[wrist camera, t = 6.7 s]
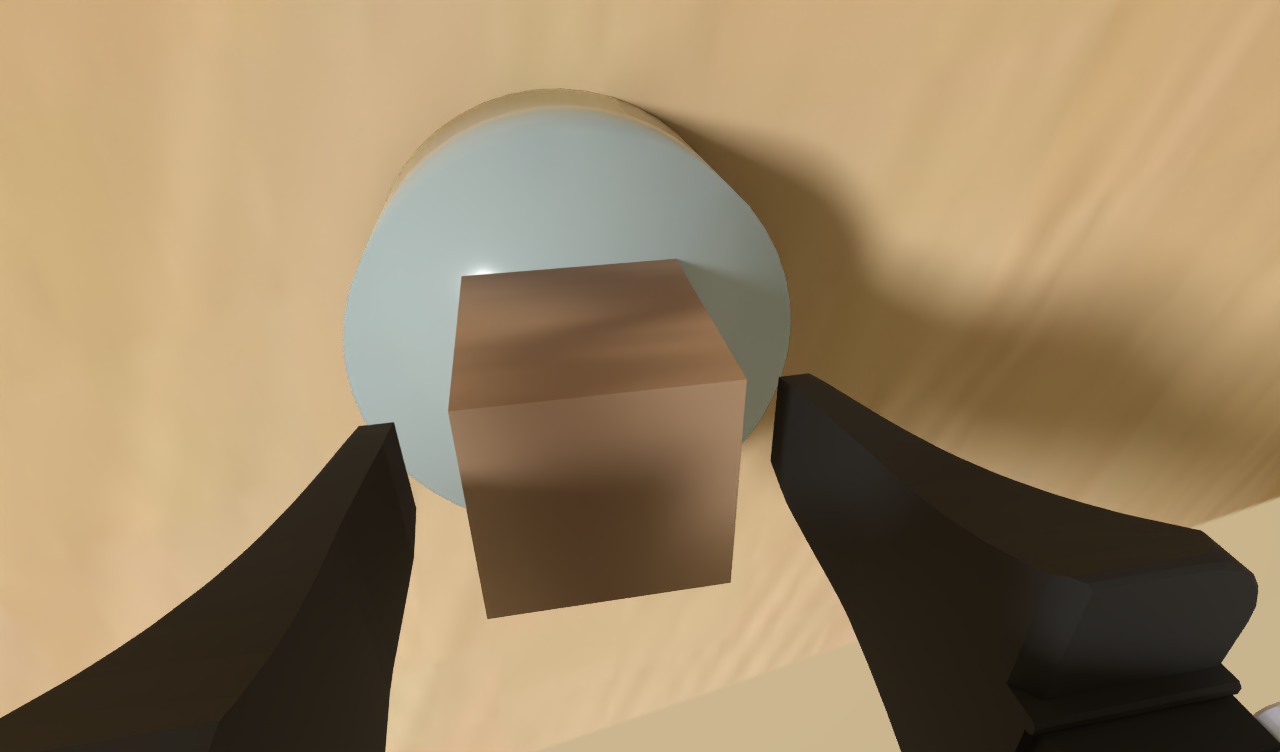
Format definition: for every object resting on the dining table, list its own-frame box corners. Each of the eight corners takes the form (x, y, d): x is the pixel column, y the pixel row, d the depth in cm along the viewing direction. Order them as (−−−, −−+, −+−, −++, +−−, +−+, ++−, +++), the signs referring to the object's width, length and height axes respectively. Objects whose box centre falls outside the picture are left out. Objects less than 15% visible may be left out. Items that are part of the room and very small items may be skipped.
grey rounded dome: (750, 92, 18) (827, 134, 14) (711, 409, 23) (759, 509, 19) (348, 81, 17) (299, 126, 12) (400, 427, 22) (378, 541, 17)
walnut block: (675, 258, 15) (746, 379, 11) (673, 428, 17) (730, 582, 13) (461, 275, 14) (448, 411, 10) (489, 450, 17) (487, 619, 12)
